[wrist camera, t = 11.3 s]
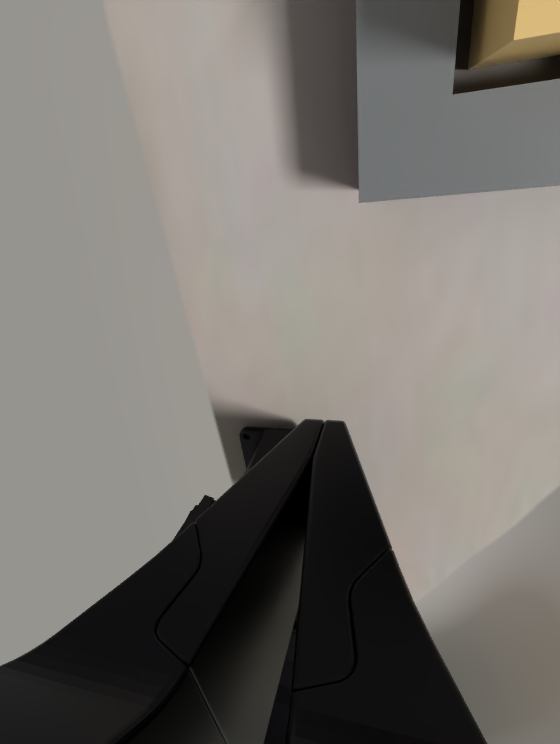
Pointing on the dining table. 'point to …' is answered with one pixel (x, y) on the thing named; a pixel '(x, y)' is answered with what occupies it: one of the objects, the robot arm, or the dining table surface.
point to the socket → (442, 112)
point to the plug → (513, 31)
